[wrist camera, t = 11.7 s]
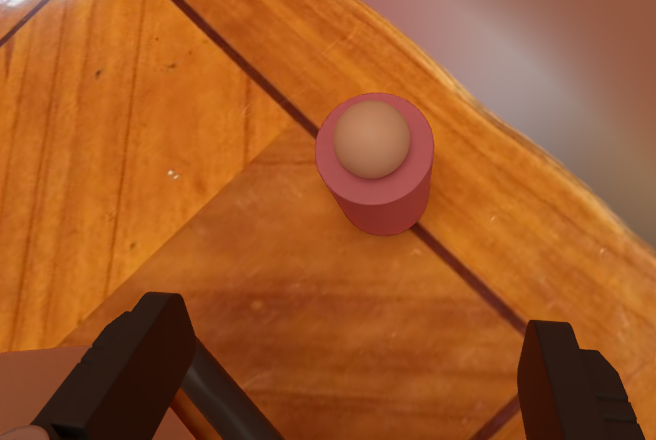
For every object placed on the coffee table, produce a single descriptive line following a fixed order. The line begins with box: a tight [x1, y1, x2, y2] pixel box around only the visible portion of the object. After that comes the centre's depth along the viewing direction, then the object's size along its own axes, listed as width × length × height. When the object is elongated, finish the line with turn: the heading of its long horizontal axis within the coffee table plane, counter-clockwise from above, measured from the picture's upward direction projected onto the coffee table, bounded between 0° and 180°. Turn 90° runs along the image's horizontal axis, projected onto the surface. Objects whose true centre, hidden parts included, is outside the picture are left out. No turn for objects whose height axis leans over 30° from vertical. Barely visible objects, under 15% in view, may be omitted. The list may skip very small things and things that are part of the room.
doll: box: [315, 93, 434, 236], centre depth 18 cm, size 4×4×8 cm
